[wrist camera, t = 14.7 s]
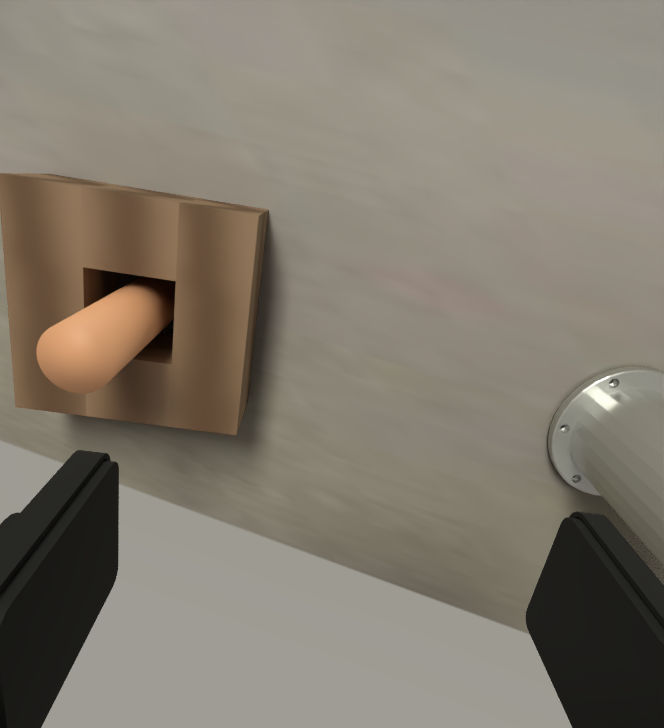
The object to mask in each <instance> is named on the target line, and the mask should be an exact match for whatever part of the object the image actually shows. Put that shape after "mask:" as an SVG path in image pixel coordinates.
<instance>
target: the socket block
mask: <svg viewBox="0 0 664 728" xmlns="http://www.w3.org/2000/svg"><path fill="white" fill-rule="evenodd" d="M0 212H1V225H2V238H3V251H4V264H5V277H6V289H7V302H8V315H9V328H10V341H11V354H12V366H13V379H14V392H15V405H16V407H20V408H27V409H35V410H43V411H51V412H58V413H66V414H74V415H82V416H89V417H97V418H105V419H113V420H121V421H128V422H136V423H144V424H152V425H159V426H167V427H175V428H183V429H190V430H198V431H206V432H214V433H221V434H229V435H237V432H238V429H239V426H240V423H241V420H242V417H243V414H244V411H245V408H246V405H247V402H248V394H249V385H250V376H251V366H252V357H253V348H254V339H255V329H256V320H257V311H258V302H259V292H260V283H261V274H262V264H263V255H264V246H265V237H266V227H267V218H268V210H266V209H260V208H254V207H248V206H242V205H236V204H230V203H223V202H217V201H211V200H205V199H199V198H193V197H187V196H181V195H175V194H168V193H162V192H156V191H150V190H144V189H138V188H132V187H126V186H120V185H113V184H107V183H101V182H95V181H89V180H83V179H77V178H71V177H65V176H58V175H52V174H1V173H0ZM118 273H124V274H131V275H138V276H144V277H151V278H158V279H164V280H171V281H176V285H175V307H174V329H173V335H166V334H158V335H157V336H156V337H155V338H154V339H153V340H152V341H150V342H149V343H148V344H147V345H146V346H145V347H144V348H143V349H142V350H141V351H140V352H139V353H138V354H137V355H136V356H135V357H134V358H133V359H132V360H131V361H130V362H129V363H128V364H127V365H126V366H125V367H124V368H122V369H121V370H120V371H119V372H118V373H117V374H116V375H115V376H114V377H113V378H112V379H111V380H110V381H109V382H108V383H107V384H106V385H105V386H104V387H102V388H101V389H99V390H97V391H95V392H91V393H84V394H80V393H72V392H69V391H66V390H64V389H61V388H60V387H58V386H56V385H55V384H53V383H52V382H51V381H50V380H49V379H48V378H47V377H46V376H45V374H44V373H43V372H42V370H41V368H40V366H39V364H38V360H37V354H36V350H37V344H38V341H39V339H40V337H41V336H42V334H43V333H44V332H45V331H46V330H47V329H49V328H50V327H52V326H54V325H55V324H57V323H59V322H61V321H63V320H64V319H66V318H68V317H70V316H72V315H73V314H75V313H77V312H79V311H81V310H82V309H84V308H86V307H88V306H90V305H91V304H93V303H95V302H97V301H99V300H100V299H102V298H104V297H106V296H108V295H109V294H111V293H113V292H115V291H117V290H118Z"/></svg>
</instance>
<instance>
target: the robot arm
mask: <svg viewBox="0 0 664 728" xmlns="http://www.w3.org/2000/svg"><path fill="white" fill-rule="evenodd" d="M548 451H549V454H550V458H551V461H552V463H553V465H554V467H555V468H556V470H557V471H558V472H559V474H560V475H561V476H562V478H563V479H564V480H565V481H566V482H567V483H569V484H570V485H571V486H573V487H575V488H576V489H578V490H580V491H582V492H585V493H588V494H591V495H598V496H602V497H603V498H604V499H605V500H606V501H607V502H608V504H609V505H610V506H611V507H612V508H613V509H614V510H615V512H616V513H617V514H618V515H619V516H620V517H621V518H622V520H623V521H624V522H625V523H626V524H627V525H628V526H629V528H630V529H631V530H632V531H633V532H634V533H635V534H636V536H637V537H638V538H639V539H640V540H641V541H642V542H643V544H644V545H645V546H646V547H647V548H648V549H649V550H650V552H651V553H652V554H653V555H654V556H655V557H656V558H657V560H658V561H659V562H660V563H661V564H662V565H663V566H664V373H663V372H660V371H657V370H655V369H652V368H645V367H623V368H618V369H613V370H609V371H607V372H604V373H601V374H599V375H596V376H594V377H593V378H591V379H589V380H588V381H586V382H584V383H583V384H581V385H580V386H579V387H578V388H576V389H575V390H574V391H573V392H572V393H571V394H570V395H569V396H568V397H567V398H566V399H565V400H564V401H563V402H562V404H561V406H560V407H559V409H558V410H557V412H556V413H555V416H554V418H553V420H552V423H551V425H550V430H549V435H548ZM118 489H119V467H118V463H117V462H111V461H110V456H109V455H108V454H107V453H99V452H91V451H83V450H78V451H76V452H75V453H74V454H73V455H72V456H71V457H70V458H69V459H68V460H67V461H66V462H65V464H64V465H63V466H62V467H61V468H60V469H59V470H58V471H57V473H56V474H55V475H54V476H53V477H52V478H51V479H50V480H49V482H48V483H47V484H46V485H45V486H44V487H43V488H42V490H40V492H39V493H38V494H37V495H36V496H35V497H34V498H33V499H32V500H31V502H30V503H29V504H28V505H27V506H26V507H25V508H24V510H23V511H22V512H21V513H14V514H12V515H10V516H9V517H8V518H6V519H5V520H4V521H3V522H2V523H1V525H0V728H41V727H42V725H43V723H44V721H45V719H46V717H47V715H48V713H49V711H50V709H51V707H52V705H53V703H54V701H55V699H56V697H57V695H58V693H59V691H60V689H61V687H62V685H63V683H64V681H65V679H66V677H67V675H68V674H69V672H70V669H71V668H72V666H73V664H74V662H75V660H76V658H77V656H78V654H79V652H80V650H81V648H82V646H83V644H84V642H85V640H86V638H87V636H88V634H89V632H90V630H91V628H92V626H93V624H94V623H95V621H96V619H97V616H98V615H99V613H100V611H101V609H102V607H103V605H104V603H105V601H106V599H107V597H108V595H109V593H110V591H111V589H112V587H113V585H114V582H115V579H116V576H117V571H118V502H119V501H118V499H119V496H118V495H119V490H118ZM526 624H527V628H528V631H529V633H530V635H531V637H532V640H533V642H534V644H535V646H536V648H537V650H538V653H539V655H540V657H541V659H542V662H543V664H544V666H545V668H546V670H547V673H548V675H549V677H550V679H551V681H552V683H553V686H554V688H555V690H556V692H557V695H558V697H559V699H560V701H561V703H562V705H563V708H564V710H565V712H566V714H567V716H568V719H569V721H570V723H571V725H572V728H664V585H663V584H662V583H661V582H660V581H659V579H658V578H657V577H656V576H655V575H654V573H653V572H652V571H651V570H650V569H649V567H648V566H647V565H646V564H645V563H644V561H643V560H642V559H641V558H640V557H639V555H638V554H637V553H636V552H635V551H634V549H633V548H632V547H631V546H630V545H629V543H628V542H627V541H626V540H625V539H624V537H623V536H622V535H621V534H620V533H619V531H618V530H617V529H616V528H615V527H614V525H613V524H612V523H611V522H610V521H609V519H607V518H606V517H605V516H603V515H600V514H592V513H584V512H574V513H572V514H571V515H570V517H569V518H565V519H564V520H563V521H562V523H561V525H560V528H559V530H558V533H557V535H556V538H555V540H554V543H553V545H552V548H551V550H550V553H549V555H548V558H547V560H546V563H545V565H544V568H543V570H542V573H541V575H540V578H539V580H538V583H537V585H536V588H535V590H534V593H533V596H532V598H531V601H530V603H529V606H528V608H527V611H526Z"/></svg>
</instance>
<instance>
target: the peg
mask: <svg viewBox="0 0 664 728" xmlns="http://www.w3.org/2000/svg"><path fill="white" fill-rule="evenodd" d="M175 285H176V281H171V280H164V279H158V278H151V277H144V276H142V277H140V278H138V279H136V280H134V281H133V282H131V283H129V284H127V285H125V286H124V287H122V288H120V289H118V290H117V291H115V292H113V293H111V294H109V295H108V296H106V297H104V298H102V299H100V300H99V301H97V302H95V303H93V304H91V305H90V306H88V307H86V308H84V309H82V310H81V311H79V312H77V313H75V314H73V315H72V316H70V317H68V318H66V319H64V320H63V321H61V322H59V323H57V324H55V325H54V326H52V327H50V328H49V329H47V330H46V331H45V332H44V333H43V334H42V336H41V337H40V339H39V341H38V344H37V350H36V354H37V360H38V364H39V366H40V368H41V370H42V372H43V373H44V374H45V376H46V377H47V378H48V379H49V380H50V381H51V382H52V383H53V384H55V385H56V386H58V387H60V388H61V389H64V390H66V391H69V392H72V393H80V394H84V393H91V392H95V391H97V390H99V389H101V388H102V387H104V386H105V385H106V384H107V383H108V382H109V381H110V380H111V379H112V378H113V377H114V376H115V375H116V374H117V373H118V372H119V371H120V370H121V369H122V368H124V367H125V366H126V365H127V364H128V363H129V362H130V361H131V360H132V359H133V358H134V357H135V356H136V355H137V354H138V353H139V352H140V351H141V350H142V349H143V348H144V347H145V346H146V345H147V344H148V343H149V342H150V341H152V340H153V339H154V338H155V337H156V336H157V335H158V334H159V333H160V332H161V331H162V330H163V329H164V328H165V327H166V326H167V325H168V324H169V323H170V322H171V321H172V320H173V319H174V307H175Z"/></svg>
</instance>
